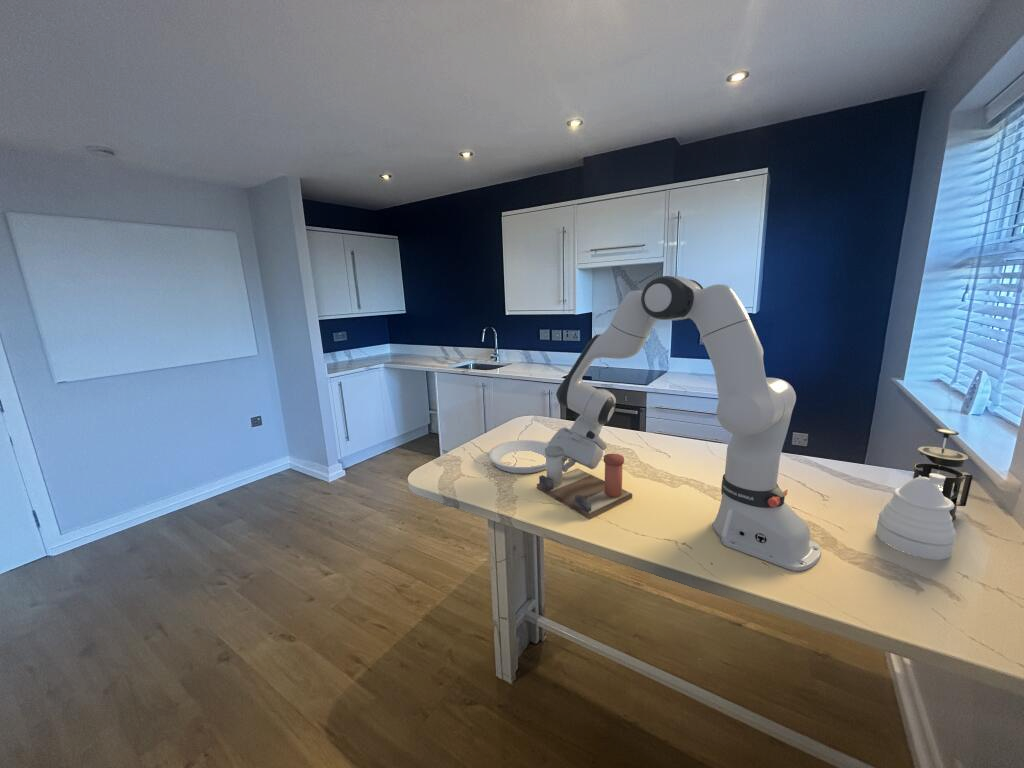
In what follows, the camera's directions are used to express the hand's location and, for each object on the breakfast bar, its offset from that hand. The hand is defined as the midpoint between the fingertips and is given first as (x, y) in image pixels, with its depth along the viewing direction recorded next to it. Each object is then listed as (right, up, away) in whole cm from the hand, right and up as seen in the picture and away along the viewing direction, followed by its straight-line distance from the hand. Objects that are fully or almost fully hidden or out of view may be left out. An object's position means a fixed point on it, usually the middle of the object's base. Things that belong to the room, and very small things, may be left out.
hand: (561, 470), depth 129 cm
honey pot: (+79, -10, -33) cm, 87 cm away
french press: (+96, -7, -21) cm, 99 cm away
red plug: (+14, -5, -9) cm, 18 cm away
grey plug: (-2, -4, -1) cm, 4 cm away
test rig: (+6, -6, -4) cm, 10 cm away
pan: (-7, 0, +25) cm, 26 cm away
